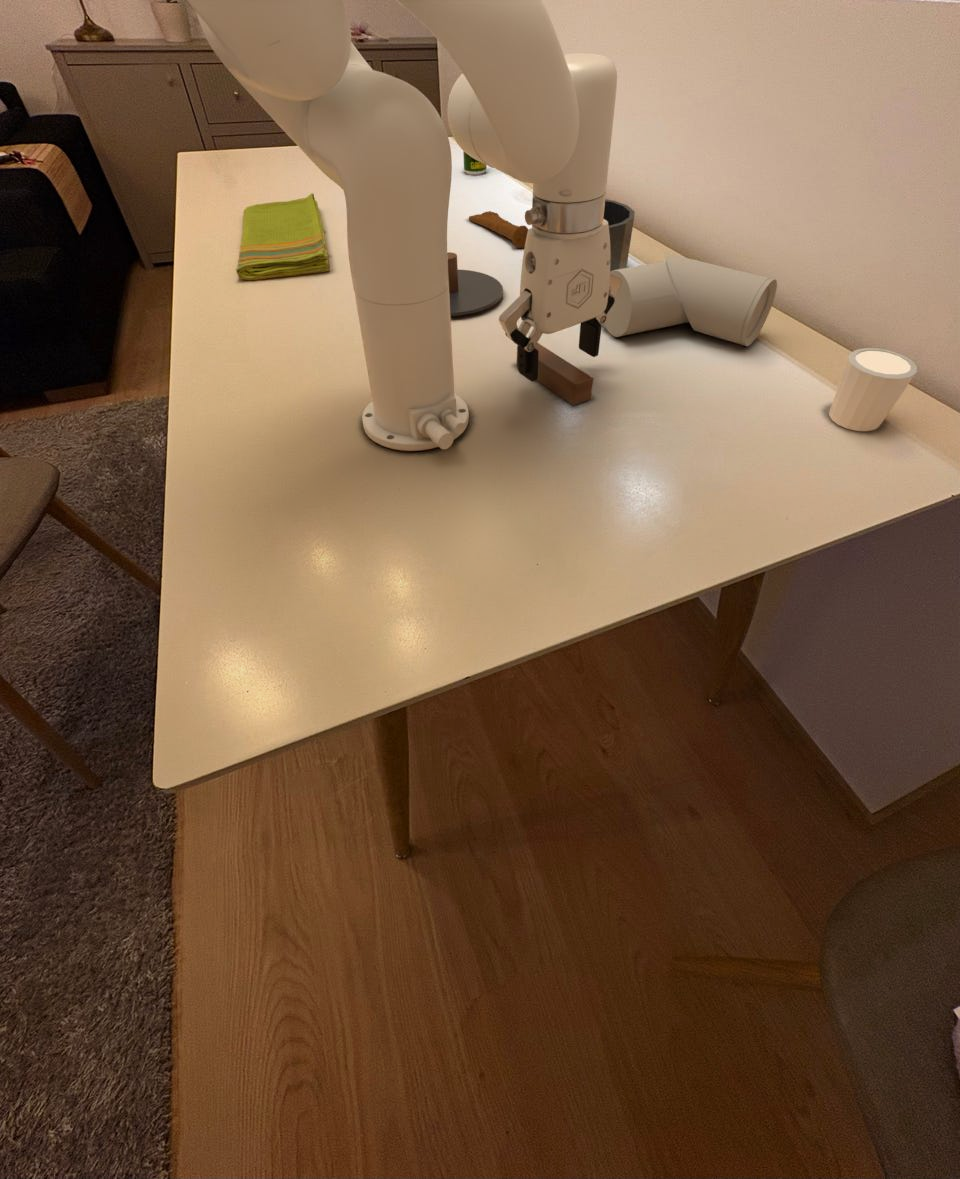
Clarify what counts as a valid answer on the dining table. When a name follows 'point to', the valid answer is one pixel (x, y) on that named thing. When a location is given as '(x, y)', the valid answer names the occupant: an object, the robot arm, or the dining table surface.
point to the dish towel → (282, 240)
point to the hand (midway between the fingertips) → (558, 364)
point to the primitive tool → (502, 227)
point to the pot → (619, 232)
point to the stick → (562, 377)
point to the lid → (470, 289)
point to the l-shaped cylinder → (691, 299)
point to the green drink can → (473, 165)
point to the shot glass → (870, 388)
